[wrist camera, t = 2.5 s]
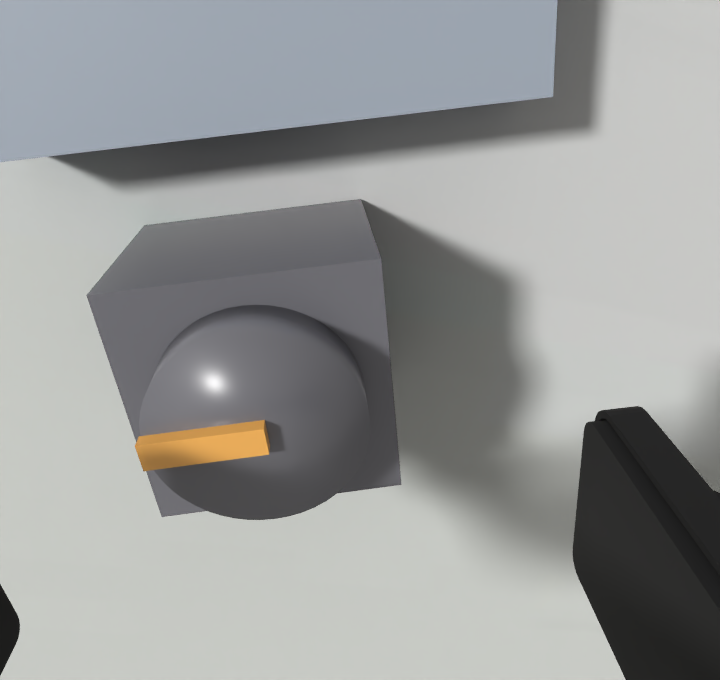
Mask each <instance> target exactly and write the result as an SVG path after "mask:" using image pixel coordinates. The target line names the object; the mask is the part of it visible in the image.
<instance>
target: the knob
mask: <svg viewBox="0 0 720 680" xmlns="http://www.w3.org/2000/svg"><path fill="white" fill-rule="evenodd" d="M87 298H88V301H89V304H90V307H91V310H92V313H93V316H94V319H95V322H96V325H97V327H98V330H99V333H100V336H101V339H102V342H103V345H104V348H105V351H106V354H107V357H108V360H109V363H110V366H111V369H112V372H113V375H114V378H115V380H116V383H117V386H118V389H119V392H120V395H121V398H122V401H123V404H124V407H125V410H126V413H127V416H128V419H129V422H130V425H131V428H132V431H133V433H134V436H135V439H136V445H135V448H136V451H137V454H138V456H139V459H140V462H141V465H142V468H143V471H146V472H147V475H148V478H149V481H150V484H151V486H152V489H153V492H154V495H155V498H156V501H157V504H158V507H159V510H160V513H161V516H162V517H165V516H173V515H180V514H187V513H195V512H202V511H209V512H212V513H215V514H219V515H222V516H227V517H232V518H238V519H247V520H265V519H276V518H282V517H287V516H291V515H295V514H298V513H301V512H304V511H307V510H309V509H311V508H314V507H316V506H318V505H320V504H321V503H323V502H325V501H327V500H328V499H330V498H331V497H332V496H334V495H335V494H337V493H343V492H350V491H357V490H365V489H372V488H380V487H387V486H394V485H401V475H400V464H399V453H398V441H397V430H396V419H395V407H394V396H393V385H392V374H391V362H390V351H389V340H388V328H387V317H386V306H385V295H384V283H383V272H382V261H381V256H380V253H379V250H378V247H377V245H376V242H375V239H374V236H373V233H372V230H371V227H370V224H369V221H368V218H367V215H366V212H365V210H364V207H363V204H362V201H361V199H358V200H350V201H342V202H334V203H325V204H317V205H309V206H301V207H292V208H284V209H276V210H268V211H260V212H251V213H243V214H235V215H227V216H218V217H210V218H202V219H194V220H186V221H177V222H169V223H161V224H153V225H144V227H143V228H142V229H141V230H140V231H139V233H138V234H137V235H136V236H135V237H134V239H133V240H132V241H131V242H130V243H129V245H128V246H127V247H126V248H125V249H124V251H123V252H122V253H121V254H120V256H119V257H118V258H117V259H116V260H115V262H114V263H113V264H112V265H111V266H110V268H109V269H108V270H107V271H106V272H105V274H104V275H103V276H102V277H101V279H100V280H99V281H98V282H97V283H96V285H95V286H94V287H93V288H92V289H91V291H90V292H89V293H88V294H87Z"/></svg>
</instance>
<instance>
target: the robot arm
mask: <svg viewBox="0 0 720 680" xmlns="http://www.w3.org/2000/svg"><path fill="white" fill-rule="evenodd" d="M573 561H574V566H575V569H576V573H577V575H578V578H579V580H580V582H581V584H582V586H583V589H584V591H585V593H586V595H587V597H588V599H589V601H590V604H591V606H592V608H593V610H594V612H595V614H596V617H597V619H598V621H599V623H600V625H601V627H602V629H603V632H604V634H605V636H606V638H607V640H608V642H609V644H610V647H611V649H612V651H613V653H614V655H615V657H616V660H617V662H618V664H619V666H620V668H621V670H622V672H623V675H624V677H625V679H626V680H720V493H718V492H716V491H713V490H712V489H711V488H710V487H709V485H708V484H707V483H706V482H705V481H704V479H703V478H702V477H701V476H700V475H699V474H698V472H697V471H696V470H695V469H694V468H693V466H692V465H691V464H690V463H689V462H688V460H687V459H686V458H685V457H684V456H683V454H682V453H681V452H680V451H679V450H678V449H677V447H676V446H675V445H674V444H673V443H672V441H671V440H670V439H669V438H668V437H667V435H666V434H665V433H664V432H663V431H662V429H661V428H660V427H659V426H658V425H657V423H656V422H655V421H654V420H653V419H652V418H651V416H650V415H649V414H648V413H647V412H646V411H645V410H644V409H643V408H642V407H638V406H635V407H627V408H618V409H610V410H601V411H599V412H598V414H597V415H596V419H595V421H593V422H588V423H586V425H585V428H584V437H583V447H582V458H581V468H580V479H579V489H578V500H577V510H576V521H575V531H574V542H573ZM19 630H20V623H19V618H18V615H17V613H16V612H15V610H14V608H13V606H12V604H11V603H10V601H9V599H8V597H7V595H6V594H5V592H4V590H3V588H2V586H1V585H0V675H1V673H2V671H3V669H4V667H5V665H6V663H7V661H8V659H9V657H10V655H11V653H12V651H13V649H14V647H15V645H16V642H17V640H18V636H19Z"/></svg>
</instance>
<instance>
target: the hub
mask: <svg viewBox="0 0 720 680" xmlns="http://www.w3.org/2000/svg"><path fill="white" fill-rule="evenodd" d="M556 21H557V0H0V162H5V161H14V160H22V159H31V158H39V157H48V156H56V155H65V154H73V153H82V152H90V151H99V150H107V149H116V148H124V147H133V146H141V145H150V144H158V143H167V142H175V141H184V140H192V139H200V138H209V137H217V136H226V135H234V134H243V133H251V132H260V131H268V130H277V129H285V128H294V127H302V126H311V125H319V124H328V123H336V122H345V121H353V120H362V119H370V118H378V117H387V116H395V115H404V114H412V113H421V112H429V111H438V110H446V109H455V108H463V107H472V106H480V105H489V104H497V103H506V102H514V101H523V100H531V99H540V98H548V97H553V87H554V65H555V43H556Z"/></svg>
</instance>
